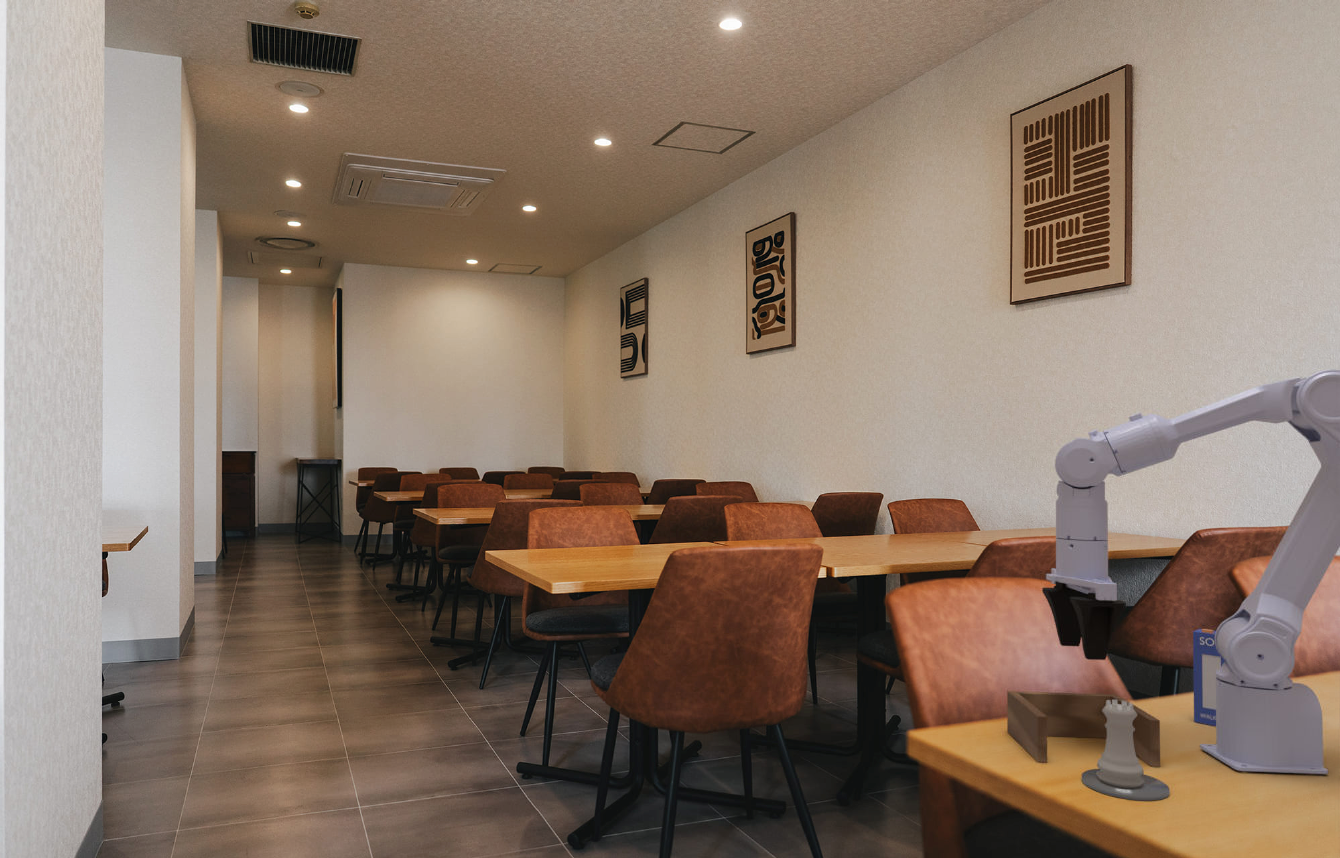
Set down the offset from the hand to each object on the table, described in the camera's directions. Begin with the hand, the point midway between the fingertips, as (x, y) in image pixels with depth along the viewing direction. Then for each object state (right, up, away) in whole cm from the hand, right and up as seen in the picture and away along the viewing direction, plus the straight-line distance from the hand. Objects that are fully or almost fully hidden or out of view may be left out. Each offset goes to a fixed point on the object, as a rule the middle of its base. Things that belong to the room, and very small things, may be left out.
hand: (1082, 652), depth 106 cm
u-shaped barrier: (-2, -10, -4) cm, 11 cm away
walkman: (+22, -11, +6) cm, 25 cm away
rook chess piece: (-3, -10, -16) cm, 19 cm away
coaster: (-3, -10, -16) cm, 19 cm away
